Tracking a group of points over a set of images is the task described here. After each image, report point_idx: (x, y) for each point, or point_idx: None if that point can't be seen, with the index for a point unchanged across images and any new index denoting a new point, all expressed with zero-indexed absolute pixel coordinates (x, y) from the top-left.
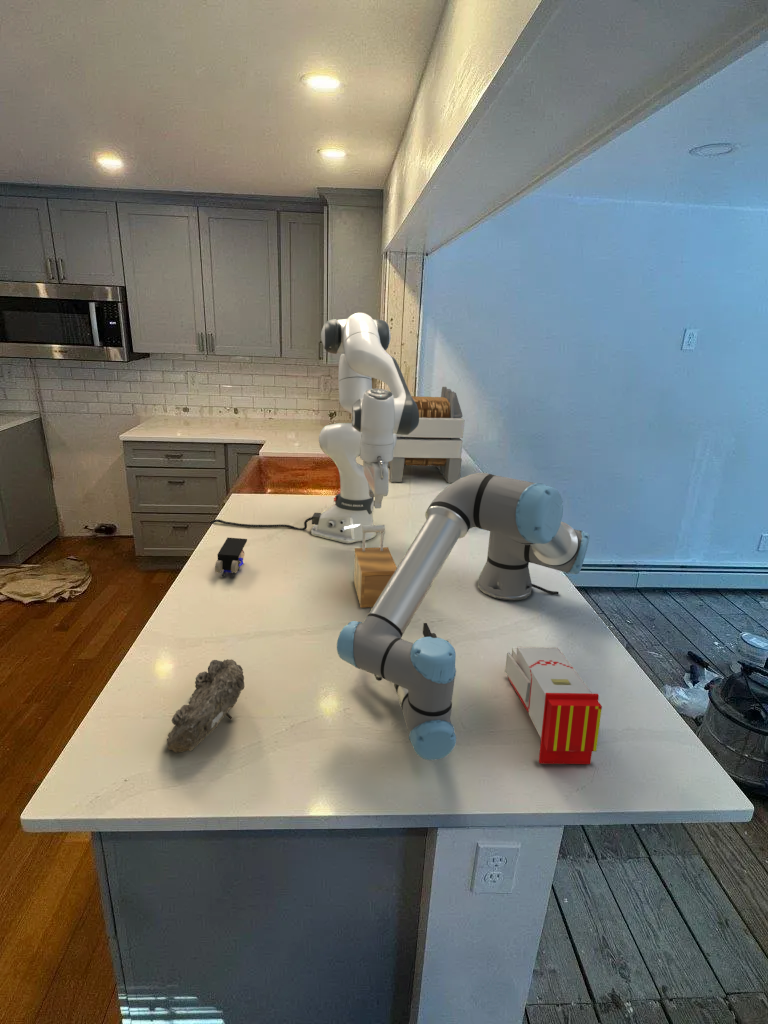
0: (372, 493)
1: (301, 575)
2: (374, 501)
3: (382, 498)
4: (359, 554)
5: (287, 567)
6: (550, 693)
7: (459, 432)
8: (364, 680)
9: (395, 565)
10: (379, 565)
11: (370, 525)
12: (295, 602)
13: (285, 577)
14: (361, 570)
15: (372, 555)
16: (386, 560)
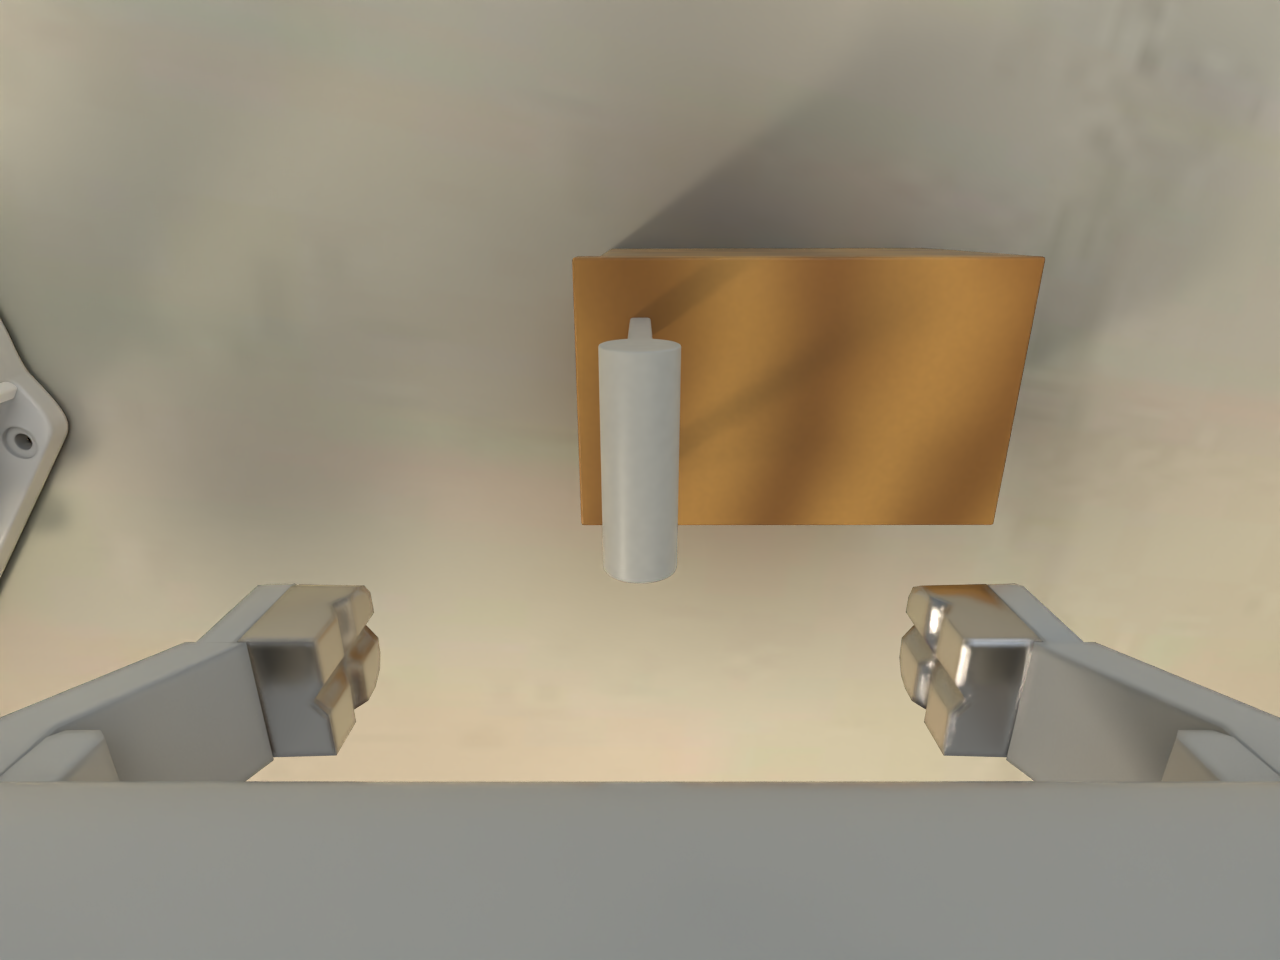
0: (339, 669)
1: (521, 679)
2: (1007, 756)
3: (1247, 707)
4: (700, 505)
5: (432, 733)
6: None
7: None
8: None
9: (947, 262)
10: (918, 389)
11: (644, 507)
12: (785, 708)
13: (541, 741)
14: (968, 523)
15: (730, 414)
16: (839, 319)
